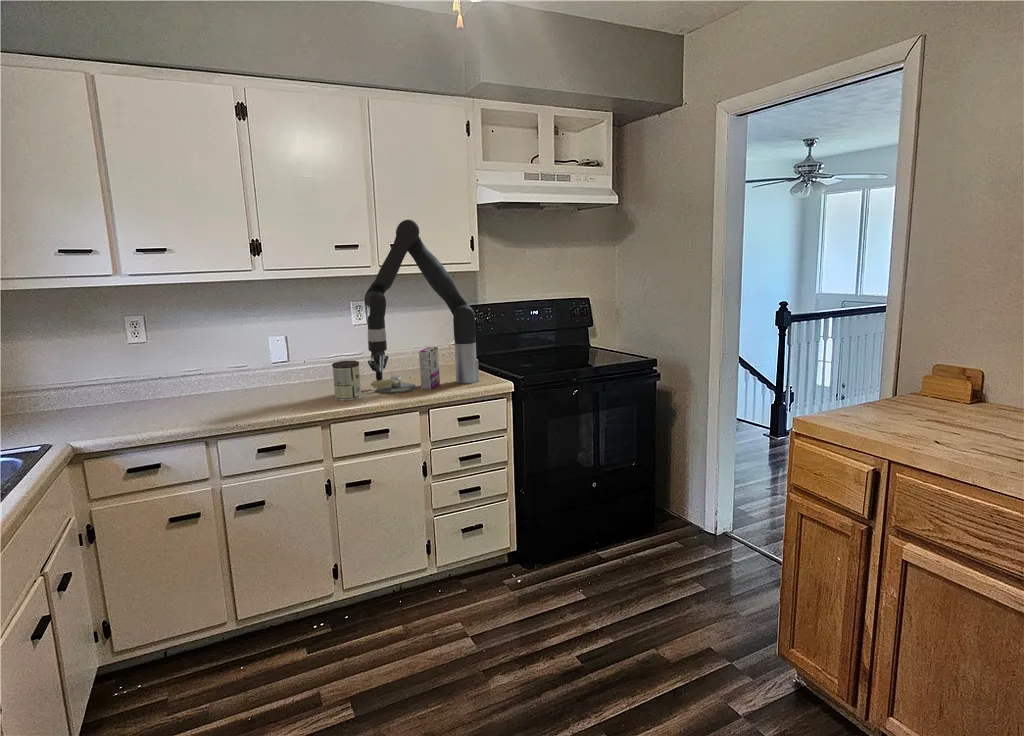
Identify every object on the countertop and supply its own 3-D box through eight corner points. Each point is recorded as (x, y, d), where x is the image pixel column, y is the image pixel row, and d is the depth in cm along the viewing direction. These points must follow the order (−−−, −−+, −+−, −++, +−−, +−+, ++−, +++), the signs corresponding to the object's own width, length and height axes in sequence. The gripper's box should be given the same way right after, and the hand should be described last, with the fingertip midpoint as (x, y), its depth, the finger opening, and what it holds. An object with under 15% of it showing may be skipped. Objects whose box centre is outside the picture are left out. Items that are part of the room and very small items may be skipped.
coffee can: (336, 395, 239) (333, 361, 236) (362, 393, 241) (360, 359, 238) (333, 401, 229) (330, 366, 226) (360, 400, 231) (357, 364, 228)
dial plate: (409, 383, 258) (409, 380, 257) (420, 390, 244) (420, 388, 243) (372, 387, 251) (372, 385, 250) (382, 395, 237) (382, 393, 236)
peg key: (399, 384, 250) (398, 372, 249) (402, 387, 246) (401, 374, 245) (369, 388, 245) (368, 376, 244) (372, 390, 240) (371, 378, 239)
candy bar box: (429, 383, 257) (427, 346, 253) (440, 383, 256) (438, 346, 252) (420, 389, 246) (418, 350, 243) (431, 389, 245) (429, 351, 242)
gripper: (377, 336, 253) (379, 376, 256) (360, 341, 241) (363, 382, 244) (393, 337, 251) (395, 377, 254) (376, 342, 238) (378, 383, 242)
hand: (379, 379), depth 249 cm, fingers closed
